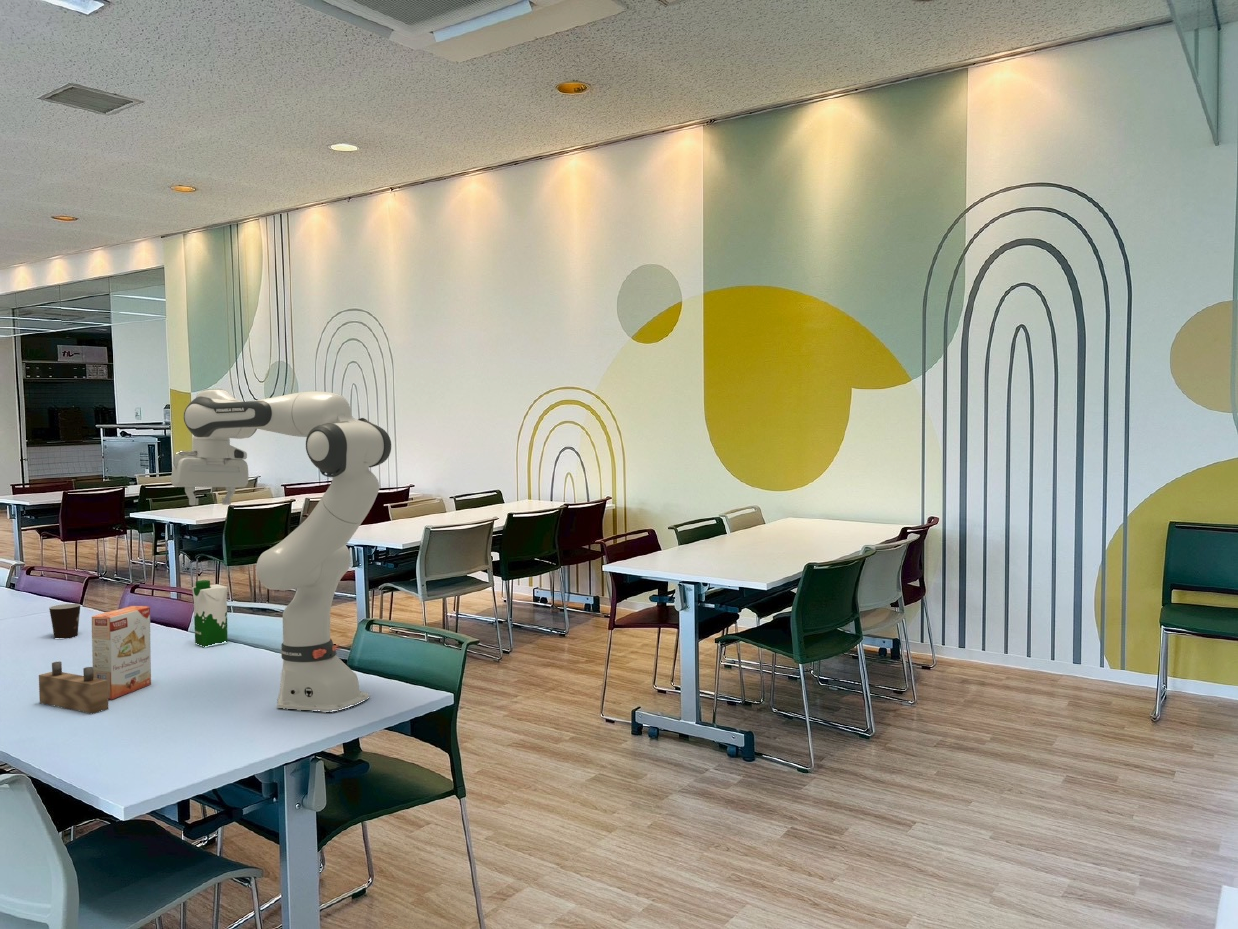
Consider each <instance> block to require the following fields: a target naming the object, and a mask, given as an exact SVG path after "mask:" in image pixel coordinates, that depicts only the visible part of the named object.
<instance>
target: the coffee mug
mask: <svg viewBox="0 0 1238 929" xmlns="http://www.w3.org/2000/svg"><path fill="white" fill-rule="evenodd" d="M80 613H81V604H80V603H64V604H63V603H62V604H56V605H52V606H49V615H50V619H51V626H52V632H53V638H54V639H55V638H69V639H73V638H72V637H74V638H76V637H75V636H77V635H78V634H79V633H78V632H79V624H80ZM77 637H78V636H77Z"/></svg>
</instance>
